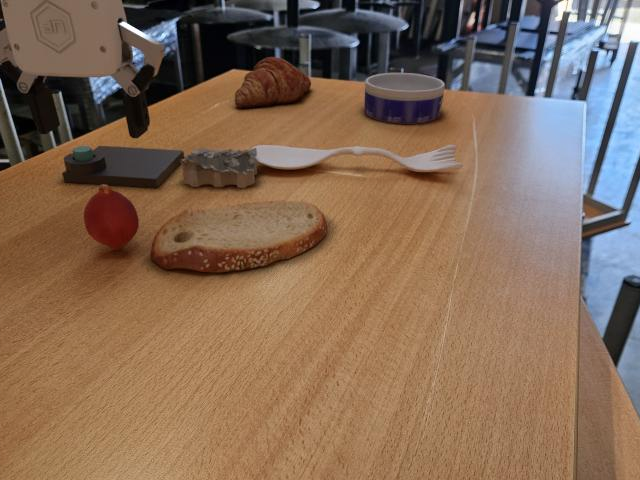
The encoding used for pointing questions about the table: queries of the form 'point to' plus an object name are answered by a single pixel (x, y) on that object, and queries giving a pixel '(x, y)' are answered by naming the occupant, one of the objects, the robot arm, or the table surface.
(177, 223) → the bread slice
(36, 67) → the robot arm
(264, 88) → the pastry
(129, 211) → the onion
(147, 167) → the scale
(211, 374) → the table surface
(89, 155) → the button
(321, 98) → the table surface
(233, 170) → the egg carton
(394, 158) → the white plastic spork
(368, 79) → the dog bowl
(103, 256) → the table surface
